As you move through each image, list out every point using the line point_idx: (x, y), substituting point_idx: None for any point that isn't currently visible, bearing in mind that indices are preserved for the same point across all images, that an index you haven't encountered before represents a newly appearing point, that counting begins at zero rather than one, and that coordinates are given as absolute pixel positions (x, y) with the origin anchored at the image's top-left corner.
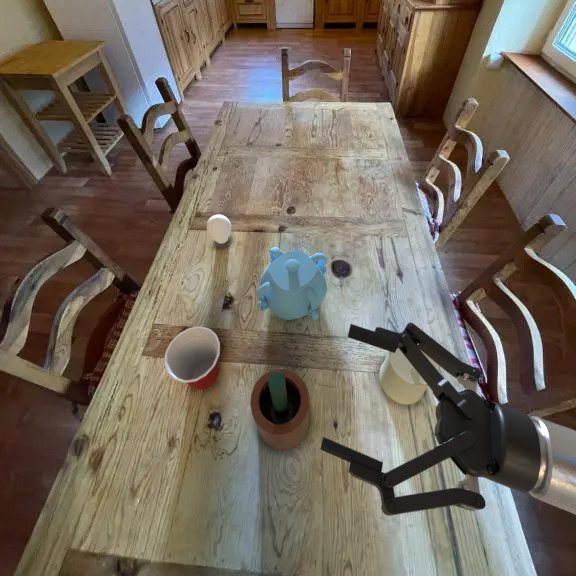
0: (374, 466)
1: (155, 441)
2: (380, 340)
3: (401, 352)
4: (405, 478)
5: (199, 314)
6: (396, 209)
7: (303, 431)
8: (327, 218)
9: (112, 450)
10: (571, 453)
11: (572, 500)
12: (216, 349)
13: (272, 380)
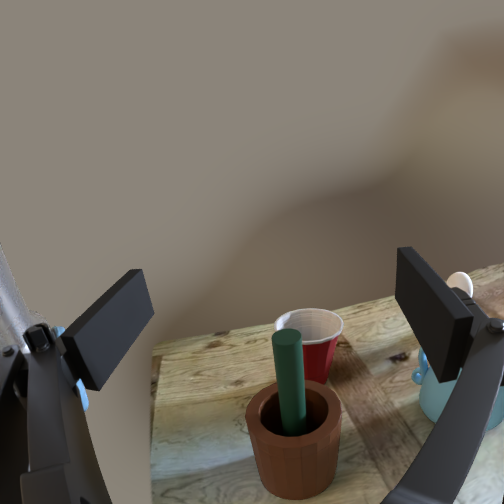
0: (72, 326)
1: (236, 371)
2: (429, 297)
3: None
4: (30, 376)
5: (368, 345)
6: None
7: (281, 482)
8: None
9: (222, 349)
10: None
11: None
12: (329, 348)
13: (284, 332)
